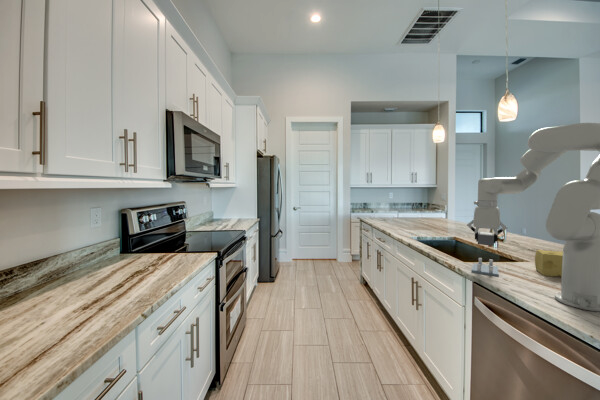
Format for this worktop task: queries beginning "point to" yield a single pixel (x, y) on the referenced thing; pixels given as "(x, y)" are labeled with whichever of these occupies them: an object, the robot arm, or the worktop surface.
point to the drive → (486, 238)
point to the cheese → (549, 262)
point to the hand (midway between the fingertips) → (485, 241)
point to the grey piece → (485, 268)
